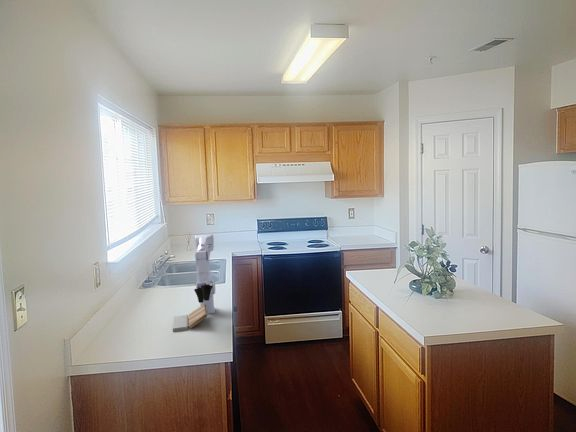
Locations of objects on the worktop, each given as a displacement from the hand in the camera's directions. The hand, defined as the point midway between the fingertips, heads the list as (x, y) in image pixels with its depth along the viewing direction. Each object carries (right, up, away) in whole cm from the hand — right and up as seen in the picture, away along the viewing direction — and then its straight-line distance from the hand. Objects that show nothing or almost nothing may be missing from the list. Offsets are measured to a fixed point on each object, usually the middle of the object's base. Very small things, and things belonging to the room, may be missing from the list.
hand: (203, 301), depth 210 cm
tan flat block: (-3, -8, +2) cm, 9 cm away
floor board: (-11, -11, 0) cm, 16 cm away
